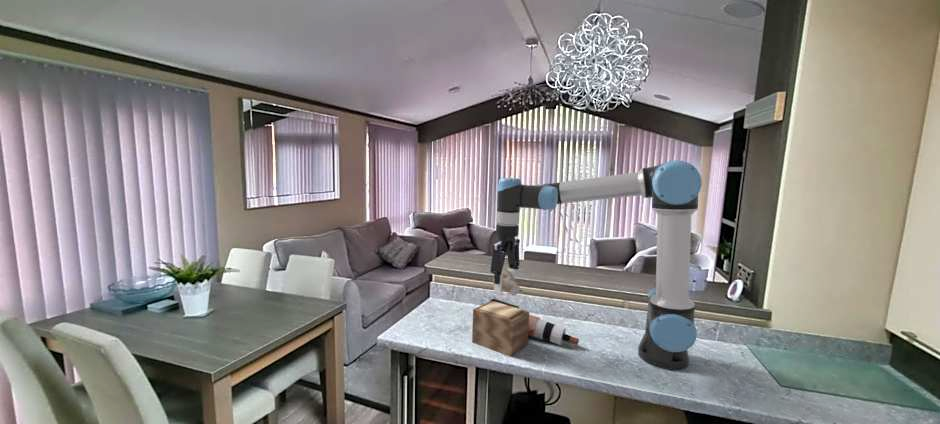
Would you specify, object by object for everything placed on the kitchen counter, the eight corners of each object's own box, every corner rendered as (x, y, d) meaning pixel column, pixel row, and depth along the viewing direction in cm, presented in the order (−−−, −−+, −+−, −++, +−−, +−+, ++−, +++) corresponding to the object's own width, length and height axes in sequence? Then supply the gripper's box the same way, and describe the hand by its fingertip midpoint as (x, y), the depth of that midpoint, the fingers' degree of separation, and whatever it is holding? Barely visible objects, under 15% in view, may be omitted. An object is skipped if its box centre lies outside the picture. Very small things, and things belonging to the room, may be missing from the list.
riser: (527, 344, 135) (529, 310, 134) (511, 356, 127) (512, 320, 125) (489, 331, 145) (490, 299, 143) (472, 342, 136) (473, 307, 135)
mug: (510, 300, 125) (498, 271, 127) (498, 303, 134) (487, 276, 135) (529, 291, 128) (516, 263, 130) (516, 295, 137) (505, 268, 138)
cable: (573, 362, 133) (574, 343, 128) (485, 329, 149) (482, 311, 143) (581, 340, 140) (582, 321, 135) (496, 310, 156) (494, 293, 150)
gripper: (513, 219, 141) (510, 281, 144) (480, 226, 125) (478, 294, 128) (532, 222, 136) (528, 285, 139) (500, 229, 120) (497, 300, 123)
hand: (504, 289), depth 133 cm, fingers closed on mug, 7 cm apart
